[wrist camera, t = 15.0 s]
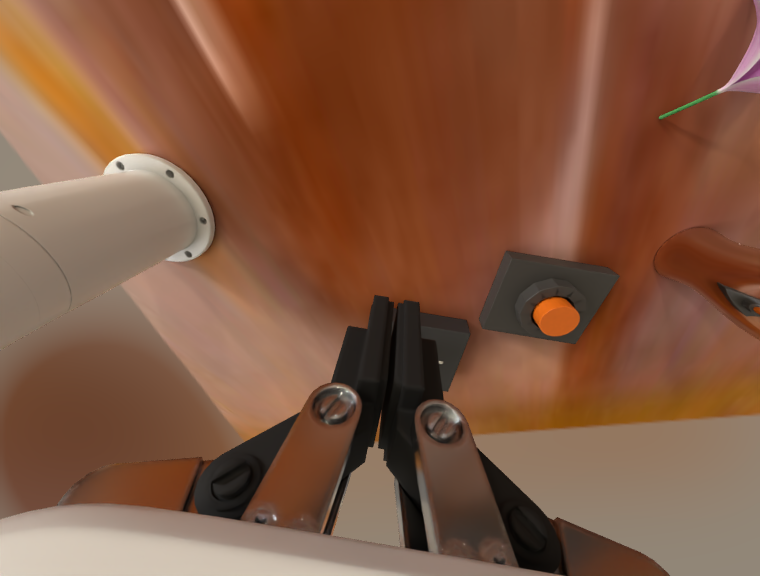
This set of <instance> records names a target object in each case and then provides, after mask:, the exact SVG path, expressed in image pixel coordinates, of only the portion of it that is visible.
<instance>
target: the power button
mask: <svg viewBox="0 0 760 576" xmlns="http://www.w3.org/2000/svg"><path fill="white" fill-rule="evenodd" d="M533 318H534V320H535V322H536V323H537V325H538V326H539V328H540V329H541V331H542V332H543V333H544V334H546V335H549V336H562V335H565V334H567V333H569V332H571V331H572V330H574V329H575V328H576V327H577V325H578V323H579V321H580V315H579V313H578V312H577V310H576V309H575V308H574V307H573V306H572V305H571V304H570V303H569V302H568V301H567V300H566V299H564V298H562V297H549V298H546V299H544V300H542V301H540V302H539V303H538V304H537V305H536V306H535V308H534V310H533Z"/></svg>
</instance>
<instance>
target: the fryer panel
mask: <svg viewBox="0 0 760 576" xmlns="http://www.w3.org/2000/svg"><path fill="white" fill-rule="evenodd" d="M372 306H373V305H372ZM371 311H372V307H371ZM396 311H397V309H396V308H393V321H392V330H393V325H394V321H395V316H396ZM370 316H371V312H370ZM370 316H369V321H370ZM420 322H421V338H424V339H430V340H435V341H436V345H437V352H438V360H439V368H440V376H441V383H442V391H447V392H448V390H449V388H450V385H451V382H452V380H453V377H454V375H455V372H456V370H457V367H458V365H459V362H460V360H461V357H462V354H463V352H464V349H465V347H466V344H467V342H468V339H469V337H470V331H469V327H468V324H467V321H466V320H462V319H456V318H450V317H444V316H438V315H432V314H426V313H420ZM368 326H369V323H368ZM391 335H392V333H391Z"/></svg>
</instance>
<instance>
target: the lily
mask: <svg viewBox="0 0 760 576" xmlns="http://www.w3.org/2000/svg"><path fill="white" fill-rule="evenodd" d="M753 1H754V4H755V7H756V14H757V26H756V30H755V33H754V36H753V39H752V41H751V43H750V45H749V48H748V50H747V52H746V54H745V56H744V57H743V59H742V61H741V63H740V64H739V66H738V68H737V69H736V71H735V73H734V74H733V76H732V78H731V79H730V81H729V82H728V83H727V84H726V85H725V86H724V87H722V88H720V89H719V90H716V91H714V92H712V93H710V94H708V95H706V96H704V97H702V98H700V99H697V100H695V101H693V102H691V103H689V104H686V105H684V106H682V107H680V108H677V109H675V110H673V111H671V112H668V113H666V114H664V115H662V116H660V117H659V119H663V118H665V117H668V116H670V115H672V114H675V113H677V112H679V111H681V110H684V109H686V108H688V107H691V106H693V105H695V104H697V103H700V102H702V101H704V100H706V99H708V98H711V97H713V96H715V95H718V94H720V93H723V92H726V91H741V92H751V93H760V0H753Z"/></svg>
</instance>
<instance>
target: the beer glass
mask: <svg viewBox="0 0 760 576" xmlns="http://www.w3.org/2000/svg"><path fill="white" fill-rule="evenodd" d="M654 267H655V270H656V271H657V272H658V273H659V274H660V275H661V276H663V277H665V278H668V279H671V280H674V281H677V282H680V283H683V284H685V285H687V286H689V287H690V288H692V289H693V290H695V291H696V292H698V293H699V294H700V295H701V296H702V297H704V298H705V299H706V300H707V301H708V302H709V303H710V304H711V305H712V306H714V307H715V308H716V309H717V310H718V311H719V312H720V313H722V314H723V315H724V316H725V317H726V318H728V319H729V320H730V321H731V322H733V323H734V324H735V325H736V326H738V327H739V328H741V329H742V330H744V331H745V332H747V333H748V334H750V335H751V336H753V337H754V338H756V339H758V340H759V341H760V249H759V248H754V247H749V246H746V245H742V244H739V243H736V242H734V241H732V240H730V239H728V238H727V237H725V236H724V235H722V234H720V233H719V232H717V231H715V230H713V229H710V228H705V227H697V228H691V229H687V230H685V231H682V232H680V233H678V234H676V235H674V236H673V237H671V238H670V239H668V240H667V241H666V242H665V243H664V244H663V245H662V246H661V247H660V249H659V250H658V252H657V254H656V256H655V259H654Z"/></svg>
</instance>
